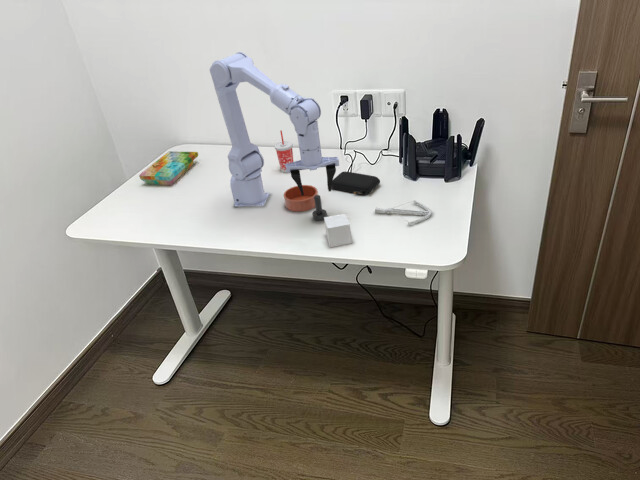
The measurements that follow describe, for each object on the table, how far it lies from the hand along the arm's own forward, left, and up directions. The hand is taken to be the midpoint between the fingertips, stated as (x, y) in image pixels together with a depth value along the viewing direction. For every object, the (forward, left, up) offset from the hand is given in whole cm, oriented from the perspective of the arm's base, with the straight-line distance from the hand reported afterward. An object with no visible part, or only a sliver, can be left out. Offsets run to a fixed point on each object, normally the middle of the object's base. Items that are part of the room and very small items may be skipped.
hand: (316, 191), depth 152 cm
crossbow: (+24, +2, -9) cm, 26 cm away
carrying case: (+8, +19, -9) cm, 22 cm away
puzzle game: (-59, +33, -9) cm, 68 cm away
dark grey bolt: (0, 0, -9) cm, 9 cm away
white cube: (+7, -11, -9) cm, 16 cm away
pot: (-7, +9, -9) cm, 14 cm away
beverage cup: (-17, +34, -9) cm, 39 cm away
